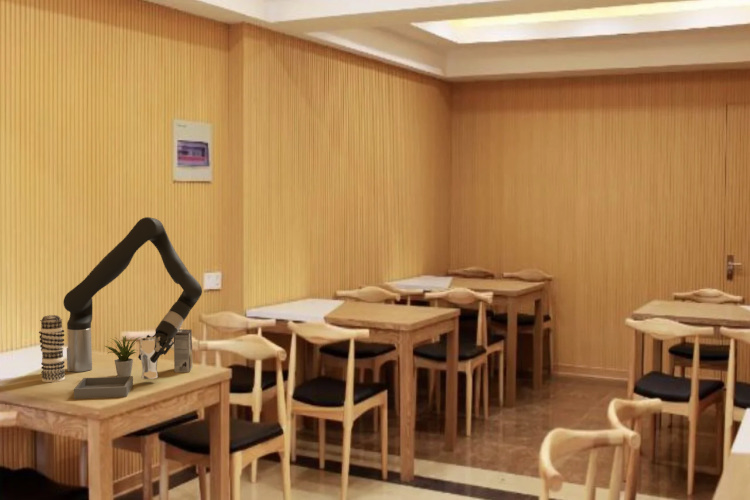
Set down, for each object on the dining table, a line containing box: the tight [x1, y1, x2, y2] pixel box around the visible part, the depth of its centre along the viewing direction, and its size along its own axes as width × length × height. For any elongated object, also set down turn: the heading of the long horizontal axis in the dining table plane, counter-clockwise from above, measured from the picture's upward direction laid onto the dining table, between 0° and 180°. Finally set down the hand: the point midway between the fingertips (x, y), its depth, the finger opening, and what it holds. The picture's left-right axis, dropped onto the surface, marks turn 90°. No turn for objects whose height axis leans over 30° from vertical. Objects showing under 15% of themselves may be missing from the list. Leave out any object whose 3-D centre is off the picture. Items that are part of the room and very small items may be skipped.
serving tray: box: [73, 375, 134, 400], centre depth 311 cm, size 18×18×4 cm
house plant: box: [104, 335, 141, 377], centre depth 338 cm, size 14×14×16 cm
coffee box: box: [173, 328, 193, 373], centre depth 347 cm, size 9×6×16 cm
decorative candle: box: [38, 314, 66, 383], centre depth 330 cm, size 9×9×25 cm
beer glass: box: [139, 336, 159, 380], centre depth 324 cm, size 7×7×15 cm
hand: (146, 360), depth 323 cm, fingers closed on beer glass, 6 cm apart
